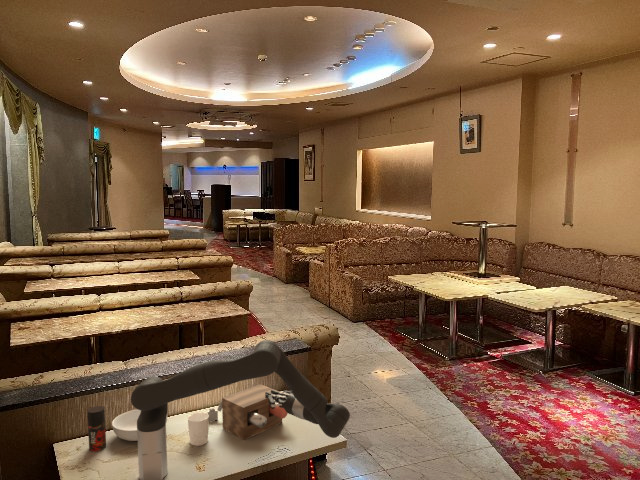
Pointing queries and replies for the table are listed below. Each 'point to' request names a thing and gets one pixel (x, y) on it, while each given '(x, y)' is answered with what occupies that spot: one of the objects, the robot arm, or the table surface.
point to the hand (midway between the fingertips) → (268, 393)
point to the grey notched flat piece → (214, 412)
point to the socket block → (247, 411)
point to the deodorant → (96, 428)
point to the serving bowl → (127, 425)
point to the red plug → (278, 412)
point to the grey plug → (256, 419)
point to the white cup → (198, 428)
